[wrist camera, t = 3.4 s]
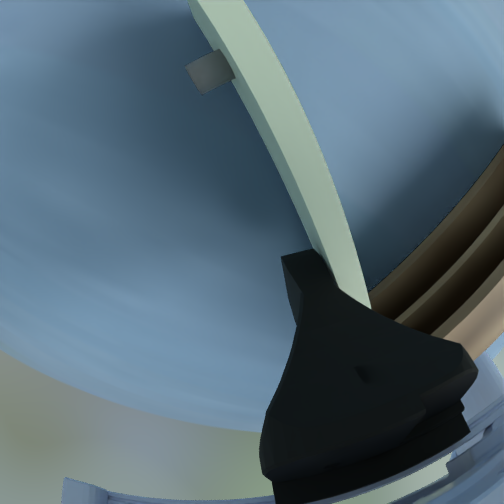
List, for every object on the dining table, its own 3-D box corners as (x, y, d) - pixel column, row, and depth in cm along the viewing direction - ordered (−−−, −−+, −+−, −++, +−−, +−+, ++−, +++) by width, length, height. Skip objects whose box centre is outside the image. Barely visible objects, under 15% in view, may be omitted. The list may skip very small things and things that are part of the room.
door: (215, 8, 6) (213, -45, 3) (354, 309, 14) (384, 368, 11) (167, 31, 7) (133, -8, 3) (323, 323, 15) (347, 385, 11)
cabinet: (526, 205, 13) (570, 238, 8) (393, 347, 18) (421, 402, 13) (510, 133, 10) (572, 162, 5) (346, 311, 15) (381, 385, 10)
